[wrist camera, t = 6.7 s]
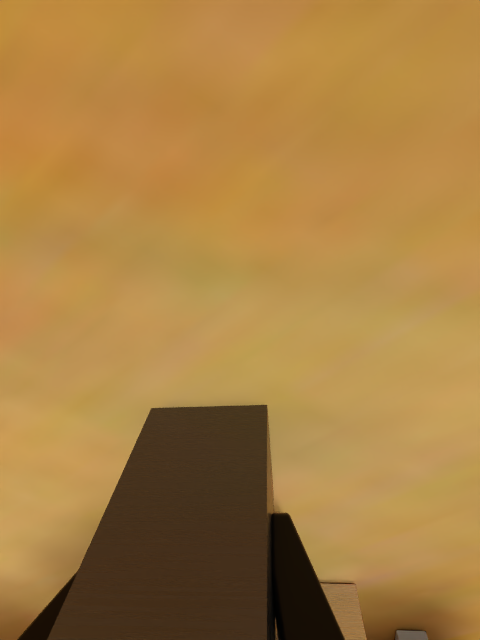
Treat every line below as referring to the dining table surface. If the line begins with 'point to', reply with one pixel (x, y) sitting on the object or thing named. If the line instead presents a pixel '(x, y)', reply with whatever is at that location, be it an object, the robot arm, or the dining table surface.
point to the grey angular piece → (189, 538)
